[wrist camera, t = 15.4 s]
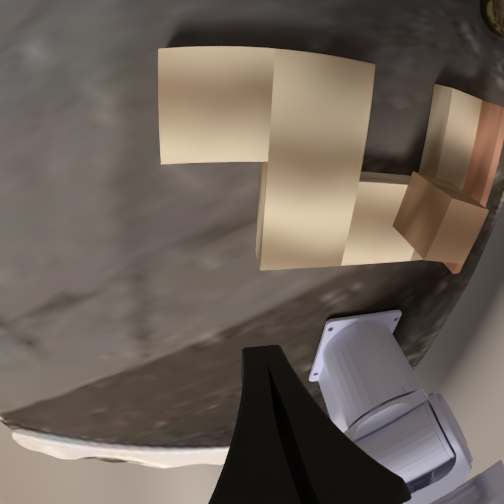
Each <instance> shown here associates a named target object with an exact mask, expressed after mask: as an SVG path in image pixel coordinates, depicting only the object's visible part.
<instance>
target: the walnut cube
mask: <svg viewBox="0 0 504 504" xmlns="http://www.w3.org/2000/svg"><path fill="white" fill-rule="evenodd" d="M488 212H489V210H488V209H487V208H485V207H484V206H483V205H481V204H480V203H478V202H477V201H476V200H474V199H473V198H472V197H470V196H469V195H467V194H466V193H465V192H463V191H462V190H460V189H459V188H457V187H456V186H454V185H453V184H451V183H448V182H445V181H442V180H439V179H436V178H433V177H430V176H427V175H424V174H421V173H418V172H414V171H413V172H412V175H411V178H410V181H409V184H408V187H407V189H406V192H405V195H404V197H403V200H402V203H401V205H400V208H399V210H398V213H397V216H396V218H395V221H394V223H393V225H392V226H393V227H394V228H395V229H396V230H397V231H398V232H399V233H400V234H401V235H402V236H403V238H404V239H405V240H406V241H407V242H408V243H409V244H410V245H411V246H412V247H413V248H414V249H415V250H416V252H417V253H418V254H419V255H420V256H421V257H422V258H423V259H424V260H428V261H439V262H449V263H459V264H464V262H465V260H466V258H467V256H468V254H469V252H470V250H471V248H472V246H473V244H474V242H475V240H476V238H477V236H478V234H479V232H480V230H481V227H482V225H483V223H484V221H485V219H486V216H487V214H488Z"/></svg>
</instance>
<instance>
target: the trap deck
mask: <svg viewBox="0 0 504 504" xmlns="http://www.w3.org/2000/svg"><path fill="white" fill-rule="evenodd" d="M374 74H375V64H371V63H367V62H362V61H357V60H352V59H347V58H342V57H336V56H331V55H324V54H318V53H311V52H303V51H295V50H285V49H274V48H261V47H239V46H197V47H176V48H162V49H158V103H159V134H160V154H161V164H177V163H201V162H261V168H260V186H259V203H258V220H257V237H256V256H257V260H258V264H259V268H260V270H277V269H295V268H312V267H329V266H342V265H358V264H373V263H387V262H401V261H413V260H424V259H423V258H422V257H421V256H420V255H419V254H418V253H417V252H416V250H415V249H414V248H413V247H412V246H411V245H410V244H409V243H408V242H407V241H406V240H405V239H404V238H403V236H402V235H401V234H400V233H399V232H398V231H397V230H396V229H395V228H394V227H393V226H392V225H393V223H394V221H395V218H396V216H397V213H398V210H399V208H400V205H401V203H402V200H403V197H404V195H405V192H406V189H407V187H408V184H409V181H410V178H411V176H408V175H398V174H387V173H375V172H362V171H361V168H362V162H363V156H364V150H365V144H366V138H367V131H368V124H369V117H370V109H371V101H372V93H373V84H374ZM503 140H504V108H503V107H501V106H498V105H495V104H492V103H489V102H486V101H483V100H481V99H478V98H476V97H474V96H471V95H469V94H466V93H464V92H461V91H459V90H456V89H454V88H450V87H446V86H442V85H438V84H434V89H433V97H432V104H431V110H430V117H429V123H428V128H427V134H426V139H425V145H424V149H423V154H422V159H421V164H420V168H419V173H421V174H424V175H427V176H430V177H433V178H436V179H439V180H442V181H445V182H448V183H451V184H453V185H454V186H456V187H457V188H459V189H460V190H462V191H463V192H465V193H466V194H467V195H469V196H470V197H472V198H473V199H474V200H476V201H477V202H478V203H480V204H481V205H483V206H484V207H485V206H486V203H487V200H488V197H489V194H490V190H491V187H492V184H493V180H494V177H495V173H496V169H497V165H498V161H499V157H500V153H501V149H502V144H503ZM443 263H444V264H445V265H446V266H447V268H448V269H449V270H450V271H451V272H452V273H453V274H455V273H460V271H461V269H462V266H463V264H459V263H449V262H443Z"/></svg>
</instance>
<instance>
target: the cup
mask: <svg viewBox="0 0 504 504" xmlns="http://www.w3.org/2000/svg"><path fill="white" fill-rule="evenodd" d="M481 10H482V15H483V19H484V21H485V23H486V25H487V26H488V28H489V29H490V30H491V31H492V32H493V33H494V34H496V35H497V36H499V37H501V38H504V0H483V2H482V6H481Z"/></svg>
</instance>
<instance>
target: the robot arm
mask: <svg viewBox="0 0 504 504" xmlns="http://www.w3.org/2000/svg"><path fill="white" fill-rule="evenodd" d="M401 315H402V312H401V311H400V310H392V311H385V312H378V313H372V314H364V315H357V316H350V317H342V318H334V319H329V320H328V321H327V322H326V324H325V327H324V330H323V334H322V337H321V340H320V344H319V347H318V350H317V353H316V356H315V360H314V363H313V366H312V369H311V372H310V375H309V381H319V384H320V387H321V390H322V393H323V396H324V400H325V403H326V406H327V409H328V412H329V415H330V418H331V419H330V418H329V417H328V416H327V415H326V414H325V413H324V411H323V410H322V409H321V408H320V406H319V405H318V404H317V403H316V401H315V400H314V399H313V398H312V396H311V395H310V393H309V392H308V391H307V389H306V388H305V386H304V385H303V384H302V382H301V381H300V379H299V378H298V376H297V375H296V373H295V371H294V370H293V368H292V366H291V365H290V363H289V361H288V360H287V358H286V356H285V354H284V352H283V350H282V348H281V346H279V345H270V346H259V347H247V348H244V349H243V350H242V373H241V378H242V395H241V402H240V407H239V412H238V417H237V422H236V426H235V430H234V434H233V438H232V441H231V445H230V448H229V451H228V454H227V458H226V461H225V464H224V467H223V469H222V472H221V475H220V477H219V480H218V482H217V485H216V488H215V490H214V492H213V494H212V497H211V499H210V501H209V503H208V504H504V465H503V463H502V461H501V460H500V461H498V462H497V463H495V464H494V465H493V466H491V467H489V468H488V469H487V470H485V471H484V472H482V473H480V474H478V475H476V476H475V477H473V478H471V479H470V480H468V481H467V482H465V483H464V481H465V479H466V478H467V476H468V474H469V473H470V471H471V468H472V465H471V462H472V456H471V454H470V451H469V449H468V447H467V442H466V439H465V437H464V435H463V433H462V431H461V429H460V427H459V425H458V423H457V421H456V419H455V417H454V415H453V413H452V411H451V409H450V407H449V405H448V403H447V402H446V400H445V398H444V396H443V395H442V394H440V393H435V392H432V393H430V394H429V395H428V396H427V395H426V393H425V392H424V391H423V389H422V387H421V385H420V383H419V381H418V380H417V378H416V376H415V374H414V372H413V370H412V368H411V367H410V365H409V363H408V361H407V359H406V357H405V356H404V354H403V352H402V350H401V348H400V347H399V345H398V343H397V341H396V340H395V338H394V336H393V332H394V330H395V327H396V325H397V323H398V321H399V319H400V317H401Z"/></svg>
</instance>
